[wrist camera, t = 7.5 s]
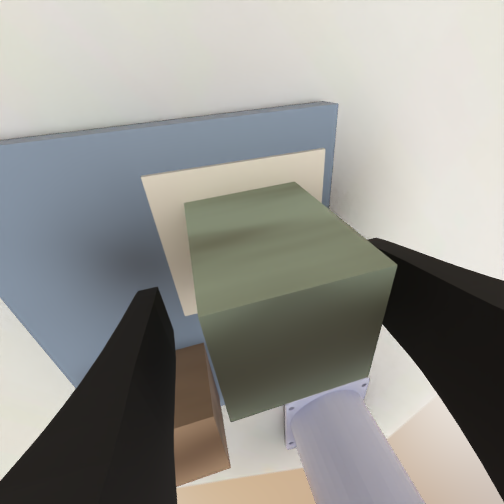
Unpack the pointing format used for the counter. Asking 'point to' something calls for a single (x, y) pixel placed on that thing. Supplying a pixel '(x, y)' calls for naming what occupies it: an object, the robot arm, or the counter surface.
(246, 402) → the sage block
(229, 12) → the counter surface
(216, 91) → the counter surface
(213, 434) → the walnut block
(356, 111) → the counter surface
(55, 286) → the board
